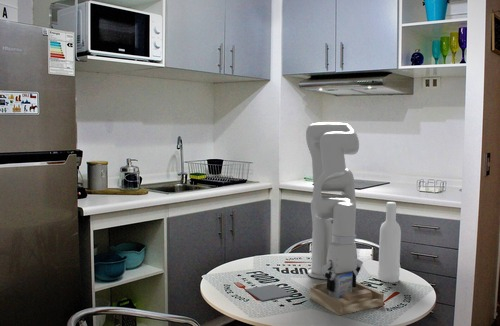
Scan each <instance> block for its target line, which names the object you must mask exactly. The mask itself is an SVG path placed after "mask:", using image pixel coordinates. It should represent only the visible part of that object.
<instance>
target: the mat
mask: <svg viewBox="0 0 500 326" xmlns="http://www.w3.org/2000/svg"><path fill="white" fill-rule="evenodd" d="M245 291H246V292H247V293H249V294H250V295H252V296H253V297H255V298H257V299H258V301H259V300H260V301H261V302H267V301H272V300H278V299H283V298H288V297H293V294H291V293H290V292H288V291H286V290H285V289H283V288H281V287H279V285H276V284H275V283H274V284H269V285H263V286H257V287H250V288H245Z"/></svg>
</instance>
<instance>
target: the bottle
mask: <svg viewBox="0 0 500 326" xmlns="http://www.w3.org/2000/svg"><path fill="white" fill-rule="evenodd" d="M385 210H386V212H385V221H384V222H382V223H381V225H380V228H379V244H378V245H379V246H378V270H377V275H378V276H377V278H378V281H380V280H381V282H384V283H388V282H389V283H398V282H399V281H400V276H401V275H400V266H401V265H400V263H401V243H402V242H401V241H402V237H401V236H402V228H401V226H400V224H399V222H397V203H396V202H395V201H388V202H386V206H385Z"/></svg>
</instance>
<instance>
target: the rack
mask: <svg viewBox="0 0 500 326" xmlns="http://www.w3.org/2000/svg"><path fill="white" fill-rule="evenodd" d="M309 288H310V289H309V291H310V293H309V299H310V300H311V301H312V302H314V303H316V304H318V305H319V306H322V307H323V308H325V309H327V310H329V311H330V312H333V313H334V314H336V315H338V316H342V315H347V313H348V314H351V313H356V311H357V312H361V311H365V310H369V308H370V309H373V308H374V309H375V308H378V307H383V306H384V293H383V292H380V291H378V290H376V289H374V288H372V287H369V286H368V285H365V284H363V283H361V282H358V281H356V287H352V292H354V291H359V290H364V289H367V290H369V291H371V292H372V299H373V300H369V301H364V302H360V303H355V304H350V305H346V306H343V302H341V301H339V300H337V299H335V298H333V297H331V296H329V295H328V289H327V281H326V282H325V281H324V282H319V283H312V286H311V287H309Z"/></svg>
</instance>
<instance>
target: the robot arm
mask: <svg viewBox="0 0 500 326" xmlns="http://www.w3.org/2000/svg"><path fill="white" fill-rule="evenodd" d="M305 138H306V139H305V141H306V144H307V149H308V150H309V153H310V157H311V166H312V167H311V168H312V183H313V187H312V199H311V202H310V212H311V213H310V214H311V221H312V223H311V224H312V232H311V233H312V235H311V245H312V246H311V268H308V270H307V275H308V276H309V277H311V278H314V279H317V280H318V279H320V280H326V282H327V289H328V290H329V291H331V292H334V285H335V281H334V280H333V279H334V277H335V276H336V274H340V273H345V272H351V271H352V272H353V279H352V287H356V282H357V276H358V275H359V272H360V271H361V270H362V269H361V268H362V266H363V263H364V261H361V260H360V259H359V258H358V252H357V251H358V249H357V243H356V242H355V240H356V238H357V236H358V235H357V234H356V215H357V214H356V213H357V204H356V203H357V201H356V187H355V185H356V184H355V177H354V174H353V172H352V171H351V169H349V168H347V167H346V166H347V165H346V158H345V155H350V156H351V155H356V154H357V153H358V151H359V149H360V140H359V137H358V134H357V132H356V131H355V130H354V128H353V127H352V126H351V125H350V124H349V123H345V122H344V123H343V122H315V123H311V124H310V125H308V126H307V128H306V131H305ZM322 193H340V195H339V194H337V195H336V194H335V195H334V194H322ZM331 274H332V275H331ZM330 275H331V276H330Z"/></svg>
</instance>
